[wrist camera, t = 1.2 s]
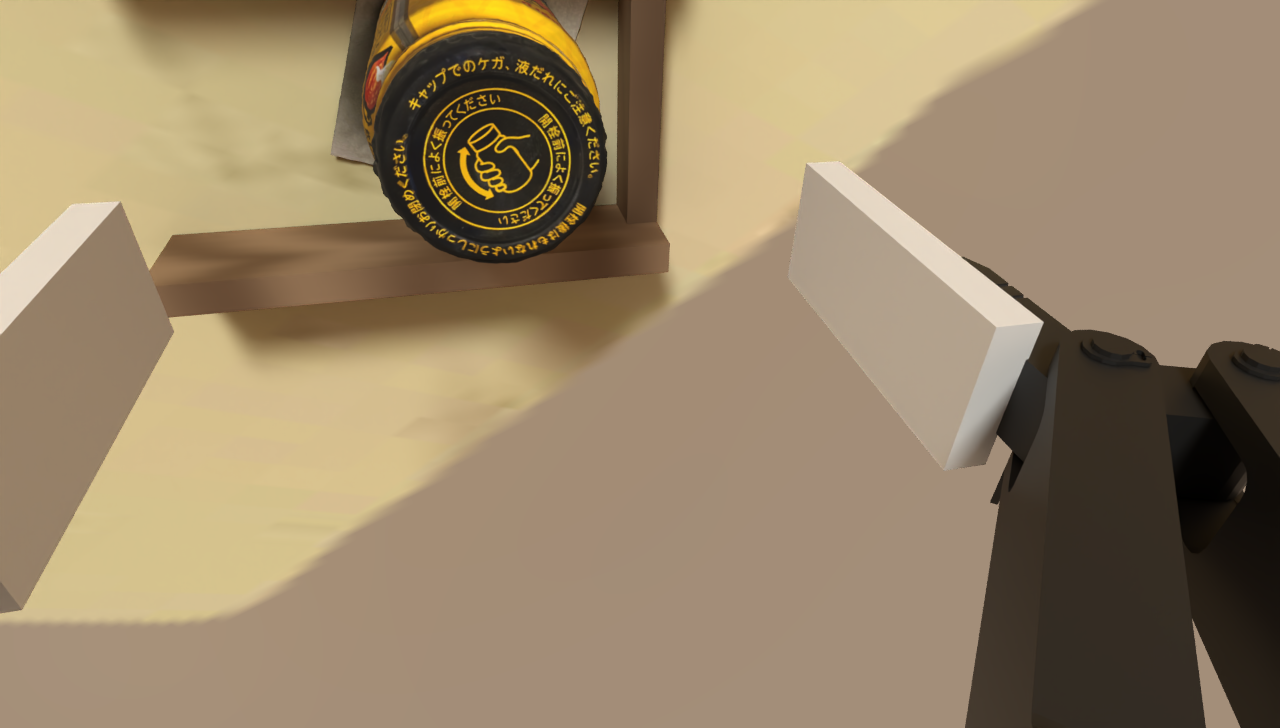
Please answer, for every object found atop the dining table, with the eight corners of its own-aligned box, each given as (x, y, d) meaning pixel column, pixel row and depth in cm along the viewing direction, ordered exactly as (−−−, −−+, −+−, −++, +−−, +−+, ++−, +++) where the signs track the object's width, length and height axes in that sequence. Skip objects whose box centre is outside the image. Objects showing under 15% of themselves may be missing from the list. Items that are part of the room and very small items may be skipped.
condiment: (592, -16, 25) (691, 67, 16) (523, 203, 29) (570, 375, 20) (374, -106, 22) (336, -69, 13) (331, 151, 26) (278, 323, 17)
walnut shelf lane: (183, 264, 27) (151, 318, 24) (16, -176, 20) (-62, -180, 17) (643, 228, 31) (668, 272, 28) (656, -154, 23) (692, -154, 20)
